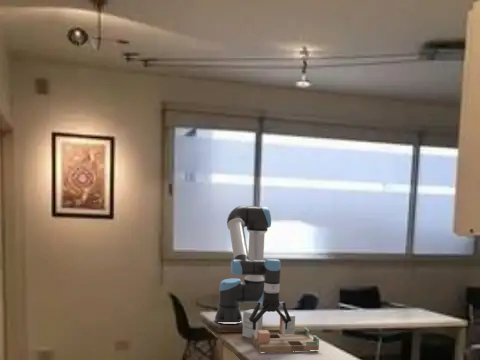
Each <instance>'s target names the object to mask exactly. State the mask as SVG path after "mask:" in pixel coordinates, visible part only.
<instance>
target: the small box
mask: <svg viewBox="0 0 480 360" xmlns="http://www.w3.org/2000/svg"><path fill="white" fill-rule="evenodd" d="M280 312H281V311H280ZM281 313H282V314H283V316H284V317H285V318H286V319H287V317H286V315H285V313H284V311H282V312H281ZM288 313H289V316H290V318H291V321H289V322H288V323H287V329H285V334H294V331H296V329H295V328H296V327H295V326H296V316H295V315H294V314H293V313H292V312H289V311H288ZM282 322H284V320H283V319H282V318H281V317H280V316H279V330H278V331H279V334H282Z"/></svg>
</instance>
